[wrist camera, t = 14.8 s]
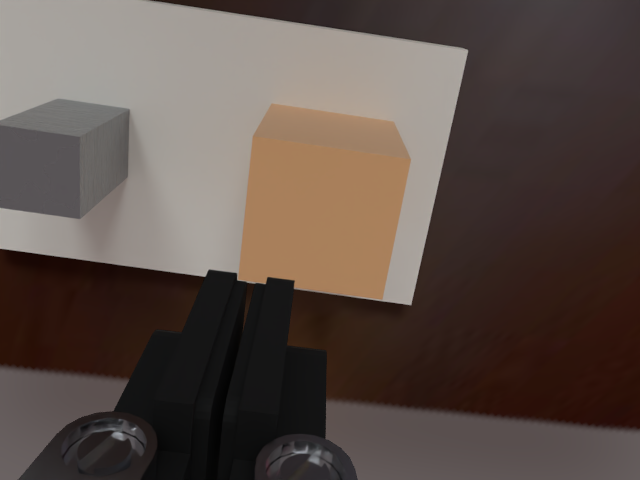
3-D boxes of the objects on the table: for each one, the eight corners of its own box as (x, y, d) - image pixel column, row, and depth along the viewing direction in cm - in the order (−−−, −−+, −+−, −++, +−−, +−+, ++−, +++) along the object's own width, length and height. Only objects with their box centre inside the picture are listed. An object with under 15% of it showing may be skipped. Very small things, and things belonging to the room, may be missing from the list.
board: (-17, -25, 30) (-34, -26, 29) (462, 47, 31) (468, 50, 29) (-1, 236, 35) (-15, 246, 34) (408, 293, 36) (411, 305, 35)
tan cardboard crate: (271, 103, 31) (252, 136, 24) (393, 121, 31) (411, 159, 24) (258, 218, 33) (237, 279, 26) (372, 234, 33) (382, 299, 26)
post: (70, 93, 32) (-10, 123, 25) (138, 104, 32) (79, 136, 25) (70, 160, 33) (-5, 207, 26) (136, 169, 34) (80, 219, 26)
